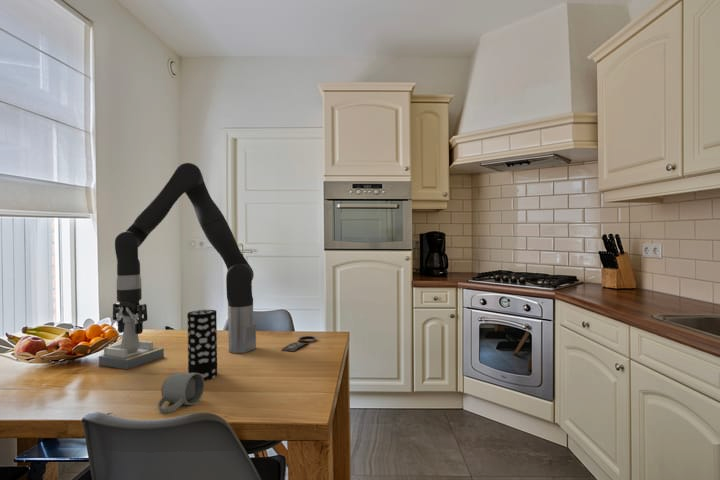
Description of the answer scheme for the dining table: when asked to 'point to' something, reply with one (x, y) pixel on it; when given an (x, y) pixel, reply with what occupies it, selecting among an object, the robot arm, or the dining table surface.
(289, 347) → the keychain
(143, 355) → the dock
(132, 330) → the salt shaker
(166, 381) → the ceramic mug
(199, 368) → the spotted tube
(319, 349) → the dining table surface
